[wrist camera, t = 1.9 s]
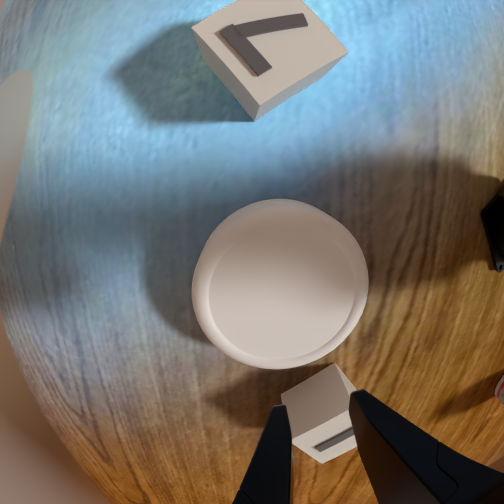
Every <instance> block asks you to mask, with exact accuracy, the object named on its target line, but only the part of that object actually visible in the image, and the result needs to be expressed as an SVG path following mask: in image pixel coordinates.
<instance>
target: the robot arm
mask: <svg viewBox="0 0 504 504" xmlns="http://www.w3.org/2000/svg"><path fill="white" fill-rule="evenodd" d="M486 214H487V215H486ZM481 218H482V221H483V224H484V228H485V231H486V235H487V238H488V242H489V246H490V250H491V254H492V258H493V262H494V267H495V270H496V271H497V272H501V271H502V270H503V269H504V187H503V188H502V189H501V191H500V192H499V193H498V194H497V195H496V196H495V197H494V198H493V199H492V200H491V201H490V203H489V204H488V205H487V206H486V207H485V208H484V209H483V210H482V212H481ZM349 416H350V420H351V424H352V428H353V432H354V436H355V440H356V444H357V448H358V451H359V454H360V457H361V460H362V462H363V465H364V467H365V470H366V472H367V475H368V477H369V480H370V482H371V485H372V488H373V490H374V493H375V495H376V498H377V500H378V503H379V504H504V473H502V472H499V471H496V470H494V469H492V468H489V467H487V466H485V465H482V464H480V463H478V462H476V461H473V460H471V459H469V458H467V457H465V456H463V455H461V454H459V453H458V452H456V451H454V450H453V449H451V448H449V447H448V446H446V445H444V444H443V443H441V442H439V441H438V440H437V439H435V438H434V437H432V436H431V435H429V434H428V433H426V432H425V431H423V430H422V429H420V428H419V427H417V426H416V425H414V424H413V423H411V422H410V421H408V420H407V419H405V418H404V417H402V416H401V415H400V414H398V413H397V412H395V411H394V410H392V409H391V408H390V407H388V406H387V405H385V404H384V403H382V402H381V401H380V400H378V399H377V398H375V397H374V396H373V395H371V394H370V393H368V392H367V391H366V390H363V389H361V390H356V391H353V392H351V394H350V401H349ZM293 473H294V471H293V448H292V432H291V427H290V422H289V417H288V412H287V407H286V405H285V404H282V405H274V406H273V407H272V408H271V411H270V414H269V417H268V419H267V422H266V424H265V427H264V430H263V432H262V435H261V437H260V440H259V442H258V445H257V447H256V450H255V452H254V455H253V457H252V460H251V462H250V465H249V467H248V469H247V472H246V474H245V476H244V479H243V481H242V483H241V486H240V488H239V489H240V490H238V492H237V494H236V497H235V499H234V501H233V503H232V504H293Z"/></svg>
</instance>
